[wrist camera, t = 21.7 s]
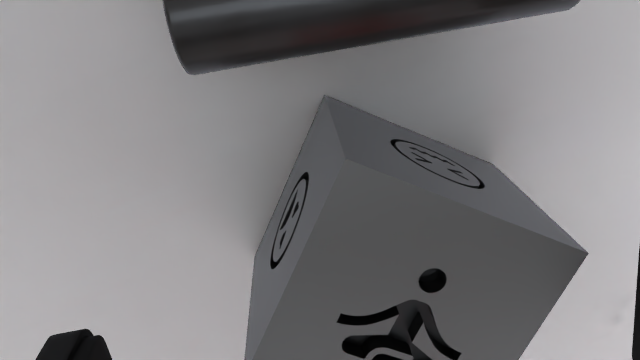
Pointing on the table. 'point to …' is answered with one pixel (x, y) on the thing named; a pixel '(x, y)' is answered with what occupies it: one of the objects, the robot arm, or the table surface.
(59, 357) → the robot arm
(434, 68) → the table surface
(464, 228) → the dice cube
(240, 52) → the drawer
